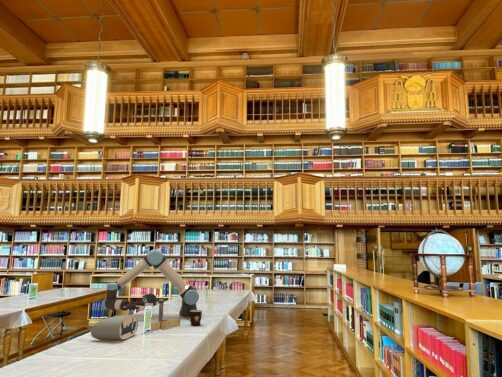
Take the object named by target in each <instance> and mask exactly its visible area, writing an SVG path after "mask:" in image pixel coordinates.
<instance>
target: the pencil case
mask: <svg viewBox="0 0 502 377" xmlns="http://www.w3.org/2000/svg"><path fill="white" fill-rule="evenodd" d="M138 324H139V320H138V317H137V315H135V314H131V315H130V314H127V315H125V314H121V315H119V314H118V315H114V316H111V317H107V318H104V319H102V320H99V321H97V322H96V323H95V324H94V325H93V326H92V327H91V331H90V335H91V338H93V339H96V340H100V341H109V340H122V341H123V340H127V339H129V338H131V337H132V336H134V335H136V333H137V331H138V327H139V325H138Z"/></svg>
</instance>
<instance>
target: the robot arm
mask: <svg viewBox="0 0 502 377" xmlns="http://www.w3.org/2000/svg"><path fill="white" fill-rule="evenodd" d="M152 267H153V268H154V269H155V270H158V271H159V272H160V273H161V274H162V276H164V277H165V278H166V279H167V281H169V282H170V284H171V285H172V286H173V287H174V288H175V289H176V290H177V291H178V296H179V297H180V298H181V307H180V309H179V312H178V315H179V316H180V317H186V318H187V317H188V318H189V317H190V315H189V314H186V313H190V310H198V307H197V303H198V301H199V299H200V293H199V292H198V291H197V288H198V287H197V286H196V285H192V284H190V283H187V282H186V281H185V280H184V279H183V278H182V277H181V275H179V273H178V272H177V271H176V270H175V269H174V268H173V266H171V265H170V264H169V263H168V259H167V257H166V256H165V255H164V254H163V252H162V251H161V250H159V249H156V248H155V249H154V248H153V249H151V250H150V251H149V252H148V253H147V254H146V255H144V257H143V258H142V260H141V261H139V262H138V263H137V264H136V265H134V266H133V267H131V268H130V269H129V270H128V271H126V272H125V273H124V274H122V276H120V277H119V278H117V279H116V280H115V281H114V282H107V285H106V295H105V296H106V297H105V298H104V299H103V300H102V302H101V307H102V309H104V310H108V311H109V310H111V311H118V312H119V311H124V312H125V311H145V308H147V307H146V306H152V307H151V308H154V303H153V302H152V303H149V302H146V301H144V302H130V301H129V300H128V299H117V298H118V292H119V291H120V290H121V289H123V288H124V287H126V285H129V283H130V282H132V281H133V280H134V279H136V278H137V277H138V276H140V275H141V274H142V273H143V272H145V271H146V270H147V269H148V268H152ZM185 314H186V315H185Z"/></svg>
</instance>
